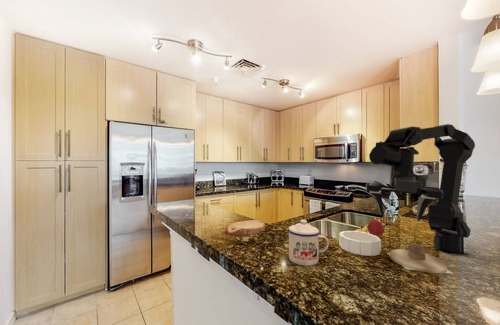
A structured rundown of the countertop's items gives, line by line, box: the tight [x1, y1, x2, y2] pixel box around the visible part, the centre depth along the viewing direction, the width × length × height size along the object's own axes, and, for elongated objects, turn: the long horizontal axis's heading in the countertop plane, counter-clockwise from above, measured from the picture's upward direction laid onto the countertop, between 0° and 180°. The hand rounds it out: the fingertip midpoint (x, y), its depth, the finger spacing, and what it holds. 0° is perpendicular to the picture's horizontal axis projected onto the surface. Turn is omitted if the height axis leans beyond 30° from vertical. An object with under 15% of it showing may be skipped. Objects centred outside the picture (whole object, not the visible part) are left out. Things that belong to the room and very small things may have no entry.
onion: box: [366, 217, 385, 238], centre depth 83 cm, size 6×6×8 cm
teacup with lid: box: [287, 219, 330, 267], centre depth 61 cm, size 12×9×12 cm
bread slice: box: [225, 219, 266, 237], centre depth 91 cm, size 18×18×4 cm
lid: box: [389, 243, 449, 274], centre depth 60 cm, size 13×13×5 cm
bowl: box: [338, 230, 382, 257], centre depth 70 cm, size 12×12×4 cm
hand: (399, 218), depth 63 cm, fingers open, 9 cm apart
